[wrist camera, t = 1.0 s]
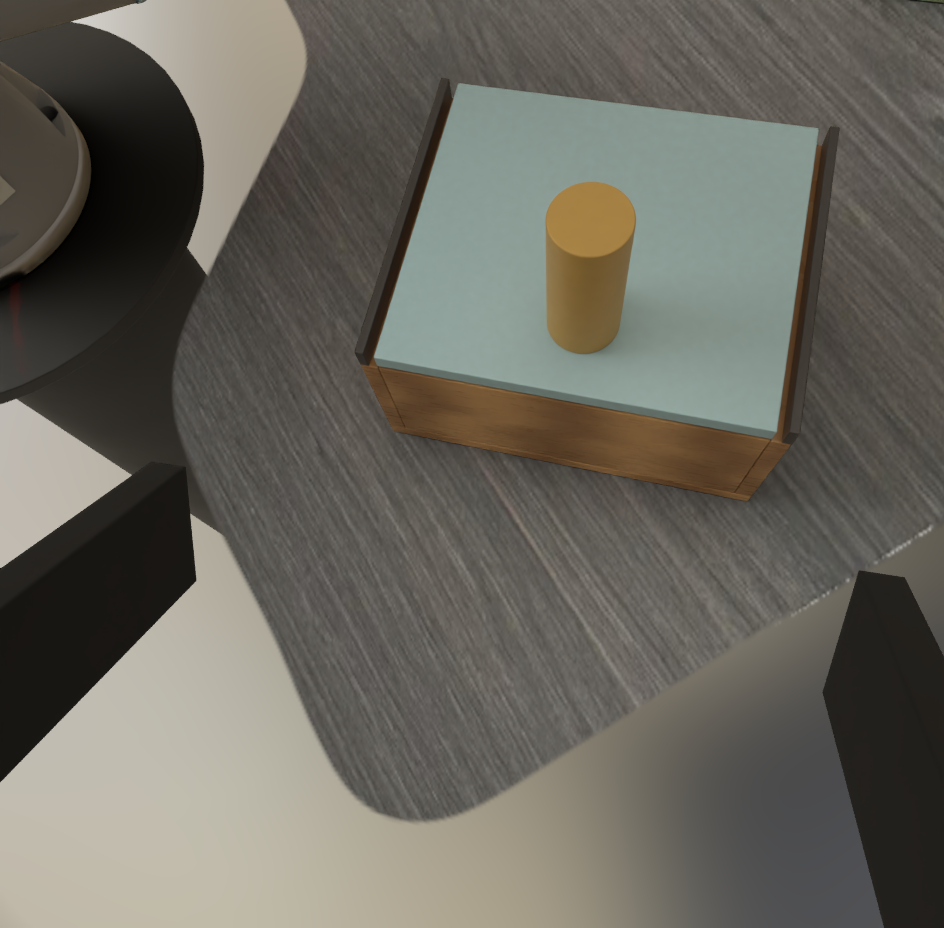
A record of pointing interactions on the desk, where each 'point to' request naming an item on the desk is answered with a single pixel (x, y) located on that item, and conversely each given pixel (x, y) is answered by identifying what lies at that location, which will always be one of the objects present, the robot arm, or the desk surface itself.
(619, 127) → the slide top
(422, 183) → the case
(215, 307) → the desk surface
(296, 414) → the desk surface
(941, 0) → the block
